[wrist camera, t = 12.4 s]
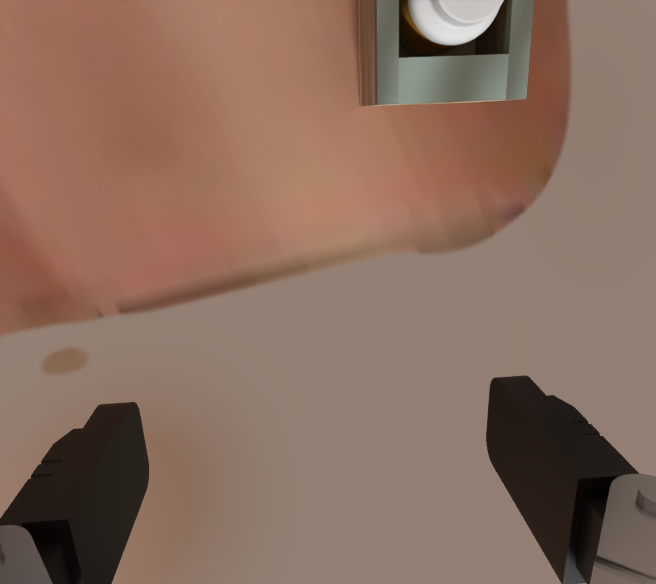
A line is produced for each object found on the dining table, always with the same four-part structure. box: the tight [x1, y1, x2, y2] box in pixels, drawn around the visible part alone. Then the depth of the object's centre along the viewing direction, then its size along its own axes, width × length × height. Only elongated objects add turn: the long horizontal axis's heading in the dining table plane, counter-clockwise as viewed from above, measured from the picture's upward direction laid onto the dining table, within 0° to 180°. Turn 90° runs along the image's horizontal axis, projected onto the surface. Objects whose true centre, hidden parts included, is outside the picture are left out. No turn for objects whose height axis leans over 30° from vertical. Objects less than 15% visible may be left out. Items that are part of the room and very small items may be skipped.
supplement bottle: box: [399, 0, 504, 57], centre depth 31 cm, size 5×5×10 cm
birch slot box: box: [358, 0, 534, 107], centre depth 33 cm, size 9×12×8 cm
